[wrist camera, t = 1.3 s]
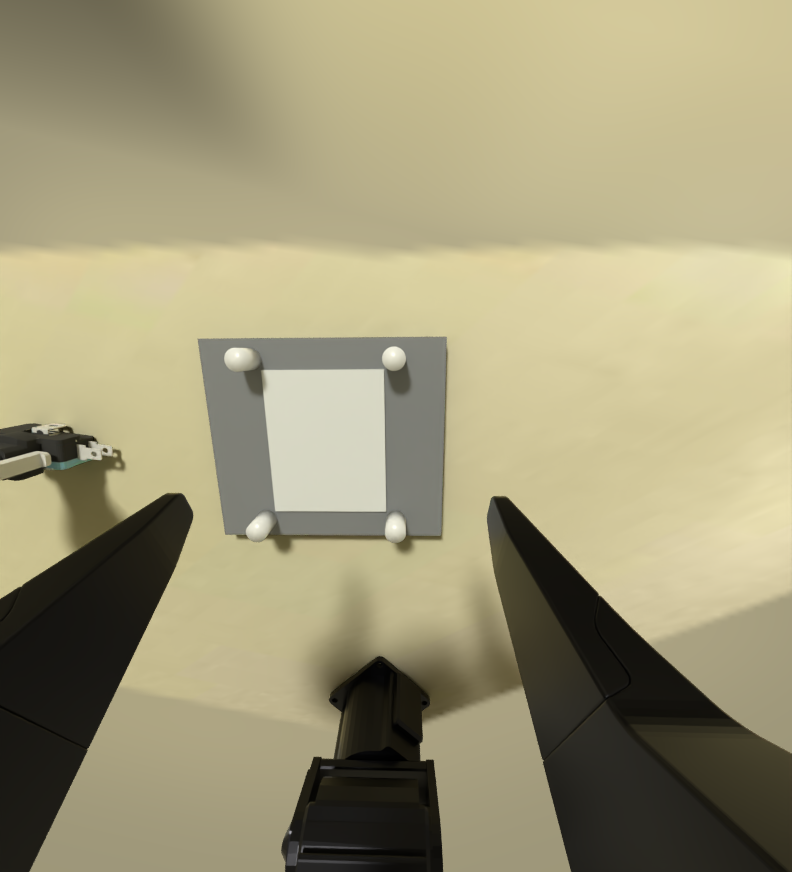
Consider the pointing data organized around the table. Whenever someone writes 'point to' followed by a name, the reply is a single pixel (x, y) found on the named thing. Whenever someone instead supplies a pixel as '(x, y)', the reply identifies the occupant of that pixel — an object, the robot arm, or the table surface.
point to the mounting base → (327, 434)
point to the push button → (44, 450)
